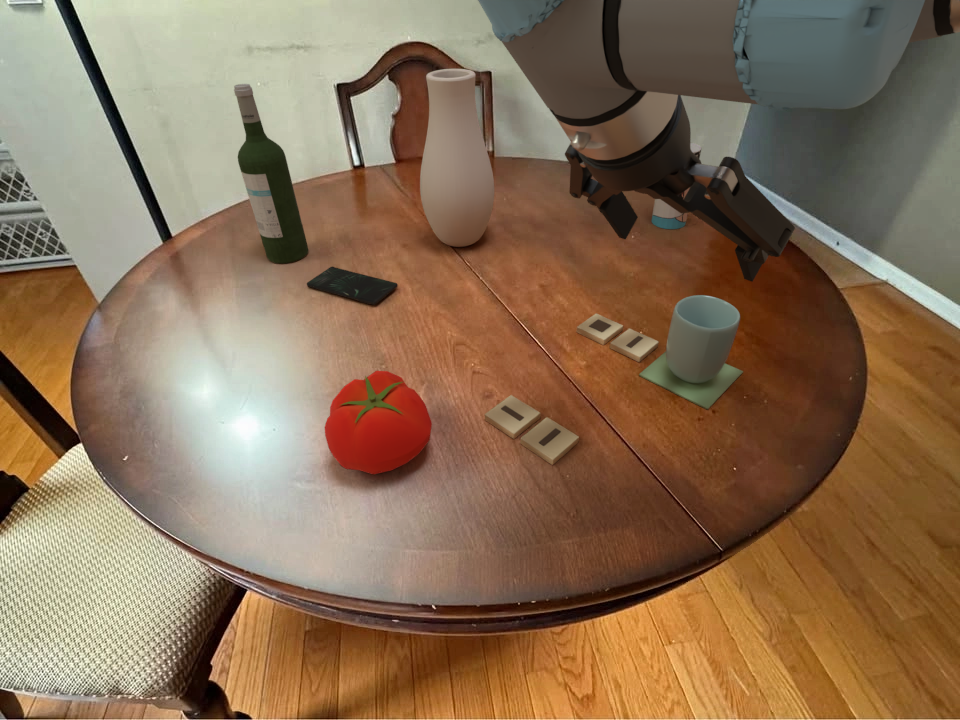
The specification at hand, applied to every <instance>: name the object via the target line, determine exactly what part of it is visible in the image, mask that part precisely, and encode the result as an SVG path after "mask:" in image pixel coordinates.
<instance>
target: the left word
mask: <svg viewBox="0 0 960 720" xmlns="http://www.w3.org/2000/svg"><path fill="white" fill-rule="evenodd" d="M483 417H484V421H486V422H487V423H489V424H490V425H492V426H493V427H495V428H496V429H497V430H499V431H500V432H502V433H504V434H505V435H506V436H508V437H509V438H512V439H513V440H515V439H516V438H518V437H519V436H520V435H521V434H523V433H524V432H525V431H526V430H528V429H529V428H530V427H531V426H533V425H534V424H535V423H536V422H538V421H539V420H540V419H541V412H540V411H538V410H537V409H535V408H534V407H532V406H531V405H528V404H527V403H525V402H524V401H522V400H520V399H519V398H517V397H515V396H514V395H513V394H510V395H509V396H507V397H506V398H504V399H503V400H502V401H501V402H499V403H497V404H496V405H495V406H494V407H492V408H491V409H489V410H488V411H486V412H485V413H484V416H483ZM579 441H580V436H579V435H577V434H575V433H574V432H572V431H571V430H569V429H568V428H566V427H564V426H563V425H561V424H559V423H558V422H556V421H555V420H553V419H551V418H550V417H547V416H546V417H545V418H543V419H542V420H541V421H540V422H539V423H538V424H536V425H535V426H534V427H532V428H531V429H530V430H529V431H527V432H526V433H525V434H524V435H522V436H521V437H520V442H519V444H520V445H521V446H523V447H524V448H526V449H528V450H529V451H530V452H532V453H533V454H535V455H537V456H538V457H539V458H540V459H543V460H544V461H545V462H547V463H548V464H549V465H551V466H554V465H555V464H556V463H557V462H558V461H559V460H560V459H561V458H563V457H564V456H565V455H566V454H567V453H568V452H570V451H571V450H572V449H573V448H574V447H575V446H576V445H578V444H579Z"/></svg>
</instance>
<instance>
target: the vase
mask: <svg viewBox="0 0 960 720" xmlns="http://www.w3.org/2000/svg"><path fill="white" fill-rule="evenodd" d="M476 75H477V74H476V73H475V72H474V71H473V70H470V69H466V68H465V69H464V68H444V69H442V68H441V69H437V70H433V71H430V72H428V73H427V74H426V76H425V79H426V84H427V93H428V107H429V109H428V123H427V132H426V137H425V143H424V149H423V154H422V160H421V166H420V174H419V175H420V177H419V193H420V200H421V205H422V210H423V212H424V215H425V217H426V220H427V222H428V224H429V226H430V228H431V230H432V231H433V233H434V234H435V236H436V237H437V239H438V240H439V241H440V242H441V243H443V244H445V245H447V246H450V247H453V248H454V247H455V248H463V247H468V246H471V245H473V244H475V243H476V242H478V241H479V240H480V239H481V238H482V236H483V235H484V232H485V231H486V229H487V228H488V224H489V222H490V219H491V216H492V212H493V208H494V202H495V179H494V173H493V168H492V164H491V160H490V156H489V154H488V150H487V146H486V143H485V140H484V136H483V133H482V130H481V126H480V122H479V121H480V120H479V117H478V110H477V102H476V101H477V100H476Z"/></svg>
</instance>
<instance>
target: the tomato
mask: <svg viewBox="0 0 960 720" xmlns="http://www.w3.org/2000/svg"><path fill="white" fill-rule="evenodd" d="M432 425H433V422H432V419H431V416H430V414H429V410H428V408H427V405H426V404H425V402H424V400H423V399H422V397H421V395H419V393H418V392H417V391H416V390H415V389H414V388H411V387H409V386H408V385H407V383H406V382H405V380H404V379H403V377H402V376H399V375H397V374H395V373H392V372H391V371H387V370H374V372H372V373H371V374H370V375H368V376H366V375H364V379H357V378H355V379H353V380H351V381H350V382H348V383H347V384H345V385H344V386H343V387H342V389H341V390H340V391H339V392H338V393H337V394H336V396H335V397H334V398H333V399H332V401H331V404H330V407H329V416H328V417H327V418H326V421H325V425H324V436H325V440H326V444H327V447H328V449H329V451H330V453H331V455H332V457H333V458H334V459H335V460H336V461H337V463H338V464H339V465H340V466H341V467H342V468H344V469H346V470H353V471H361V472H364V473H368V474H371V475H377V474H382V473H386V472H391V471H393V470H396V469H397V468H399V467H402V466H403V465H406V464H408V463H409V462H410V461H412V460H413V459H414V458H415V457H417V456H418V455H419V454H420V453H421V452H422V451H423V449H424V448H425V447H426V445H427V444H428V443H429V442H430V440H431V432H432Z"/></svg>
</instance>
